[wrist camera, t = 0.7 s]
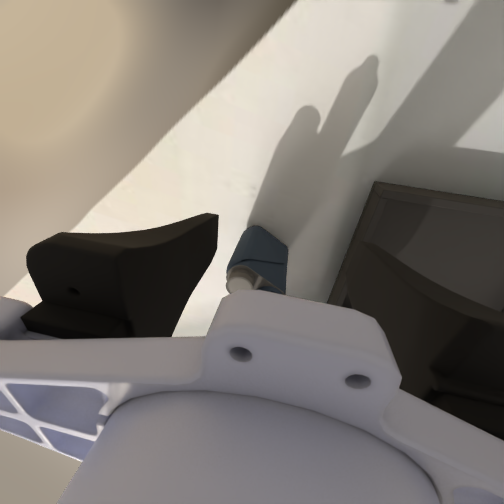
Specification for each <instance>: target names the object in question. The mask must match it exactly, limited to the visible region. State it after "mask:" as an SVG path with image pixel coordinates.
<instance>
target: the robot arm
mask: <svg viewBox="0 0 504 504" xmlns="http://www.w3.org/2000/svg"><path fill="white" fill-rule="evenodd" d="M218 219H219V215H216V214H211V213H204V214H200V215H197V216H194V217H191V218H188V219H185V220H182V221H179V222H176V223H172V224H169V225H165V226H161V227H157V228H152V229H147V230H140V231H131V232H121V233H66V232H61V233H58V234H56V235H54V236H52V237H50V238H48V239H46V240H44V241H42V242H40V243H38V244H35V245H34V246H33V247H31V248H30V249H29V251H28V253H27V256H26V259H27V260H26V261H27V268H28V271H29V274H30V276H31V278H32V280H33V282H34V284H35V286H36V288H37V290H38V293H39V295H40V297H41V299H42V300H43V301H42V302H41V303H39V304H38V305H36V306H35V307H34V308H33V307H32V306H31V305H29V304H28V303H26V302H23V301H19V300H15V299H11V298H6V297H2V296H0V430H2V431H5V432H8V433H10V434H13V435H15V436H18V437H21V438H23V439H26V440H28V441H31V442H33V443H36V444H38V445H41V446H44V447H46V448H49V449H51V450H53V451H56V452H59V453H61V454H63V455H66V456H68V457H71V458H73V459H76V460H78V461H81V462H82V463H81V465H80V467H79V468H78V470H77V471H76V473H75V475H74V476H73V478H72V479H71V481H70V482H69V484H68V486H67V487H66V489H65V490H64V492H63V494H62V495H61V497H60V499H59V500H58V502H57V503H56V504H504V313H503V312H500V311H498V310H495V309H492V308H490V307H487V306H485V305H482V304H480V303H477V302H475V301H473V300H470V299H468V298H466V297H464V296H461V295H459V294H457V293H455V292H453V291H451V290H449V289H447V288H445V287H443V286H441V285H439V284H437V283H435V282H433V281H432V280H430V279H428V278H426V277H425V276H423V275H421V274H420V273H418V272H416V271H415V270H413V269H412V268H410V267H409V266H407V265H406V264H404V263H403V262H401V261H400V260H398V259H397V258H395V257H394V256H392V255H391V254H390V253H388V252H387V251H385V250H384V249H382V248H381V247H379V246H377V245H376V244H374V243H370V242H365V241H359V242H358V245H357V247H356V250H355V252H354V254H353V257H352V259H351V262H350V264H349V267H348V269H347V271H346V283H347V291H348V294H349V298H350V302H351V305H352V309H349V308H345V307H340V306H335V305H330V304H325V303H320V302H316V301H311V300H306V299H301V298H296V297H291V296H287V295H282V294H277V293H272V292H267V291H262V290H237V291H235V292H233V293H231V294H229V295H227V296H225V297H224V298H222V300H221V302H220V304H219V307H218V309H217V311H216V314H215V316H214V318H213V321H212V323H211V325H210V328H209V330H208V333H207V335H206V336H200V337H172V334H173V332H174V330H175V327H176V325H177V323H178V321H179V318H180V316H181V314H182V312H183V310H184V308H185V306H186V304H187V301H188V299H189V297H190V296H191V294H192V292H193V290H194V289H195V287H196V286H197V284H198V283H199V281H200V279H201V278H202V276H203V275H204V273H205V272H206V270H207V268H208V267H209V265H210V264H211V262H212V260H213V257H214V255H215V253H216V250H217V240H218Z"/></svg>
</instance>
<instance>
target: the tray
mask: <svg viewBox="0 0 504 504" xmlns="http://www.w3.org/2000/svg"><path fill="white" fill-rule="evenodd" d="M359 241H365V242H370V243H374V244H376V245H377V246H379V247H381V248H382V249H384V250H385V251H387V252H388V253H390V254H391V255H392V256H394V257H395V258H397V259H398V260H400V261H401V262H403V263H404V264H406V265H407V266H409V267H410V268H412V269H413V270H415V271H416V272H418V273H420V274H421V275H423V276H425V277H426V278H428V279H430V280H432V281H433V282H435V283H437V284H439V285H441V286H443V287H445V288H447V289H449V290H451V291H453V292H455V293H457V294H459V295H461V296H464V297H466V298H468V299H470V300H473V301H475V302H477V303H480V304H482V305H485V306H487V307H490V308H492V309H495V310H498V311H500V312H503V313H504V201H498V200H492V199H485V198H479V197H472V196H466V195H459V194H453V193H447V192H440V191H434V190H427V189H421V188H415V187H408V186H402V185H395V184H389V183H382V182H376V181H375V182H374V184H373V187H372V189H371V192H370V194H369V197H368V200H367V202H366V205H365V207H364V210H363V212H362V215H361V217H360V220H359V223H358V225H357V228H356V230H355V233H354V235H353V238H352V241H351V243H350V246H349V248H348V251H347V253H346V256H345V259H344V261H343V264H342V266H341V269H340V271H339V274H338V277H337V279H336V282H335V284H334V287H333V289H332V292H331V295H330V297H329V300H328V302H327V304H330V305H335V306H340V307H345V308H349V309H352V305H351V302H350V298H349V294H348V291H347V283H346V271H347V269H348V267H349V264H350V262H351V259H352V257H353V254H354V252H355V250H356V247H357V245H358V242H359Z"/></svg>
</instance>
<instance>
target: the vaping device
mask: <svg viewBox="0 0 504 504" xmlns="http://www.w3.org/2000/svg"><path fill="white" fill-rule="evenodd" d="M287 261H288V248H287V246H285V245H284V244H283V243H282V242H280V241H279V240H278V239H276V238H275V237H274V236H272V235H271V234H270V233H268V232H267V231H266V230H265V229H263V228H262V227H260V226H252V227H250V228H248V229H246V230H245V231H244V232H243V234H242V236H241V238H240V240H239V242H238V244H237V247H236V249H235V251H234V253H233V255H232V257H231V260H230V262H229V264H228V266H227V276H226V279H227V283H226V289H227V291H228V292H229V293H230V294H231V293H233V292H235V291H237V290H262V291H267V292H272V293H277V294H282V295H285V293H286V274H287Z"/></svg>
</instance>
